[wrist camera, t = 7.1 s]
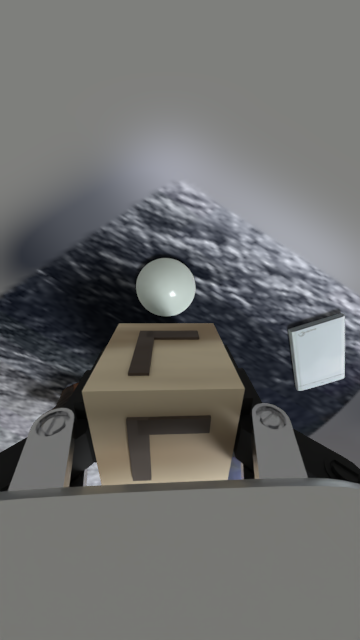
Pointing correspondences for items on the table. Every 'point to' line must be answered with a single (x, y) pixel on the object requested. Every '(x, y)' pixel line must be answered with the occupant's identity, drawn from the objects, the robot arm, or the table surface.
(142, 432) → the letter cube
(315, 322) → the hard drive
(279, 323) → the table surface
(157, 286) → the pale green disc
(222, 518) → the robot arm
